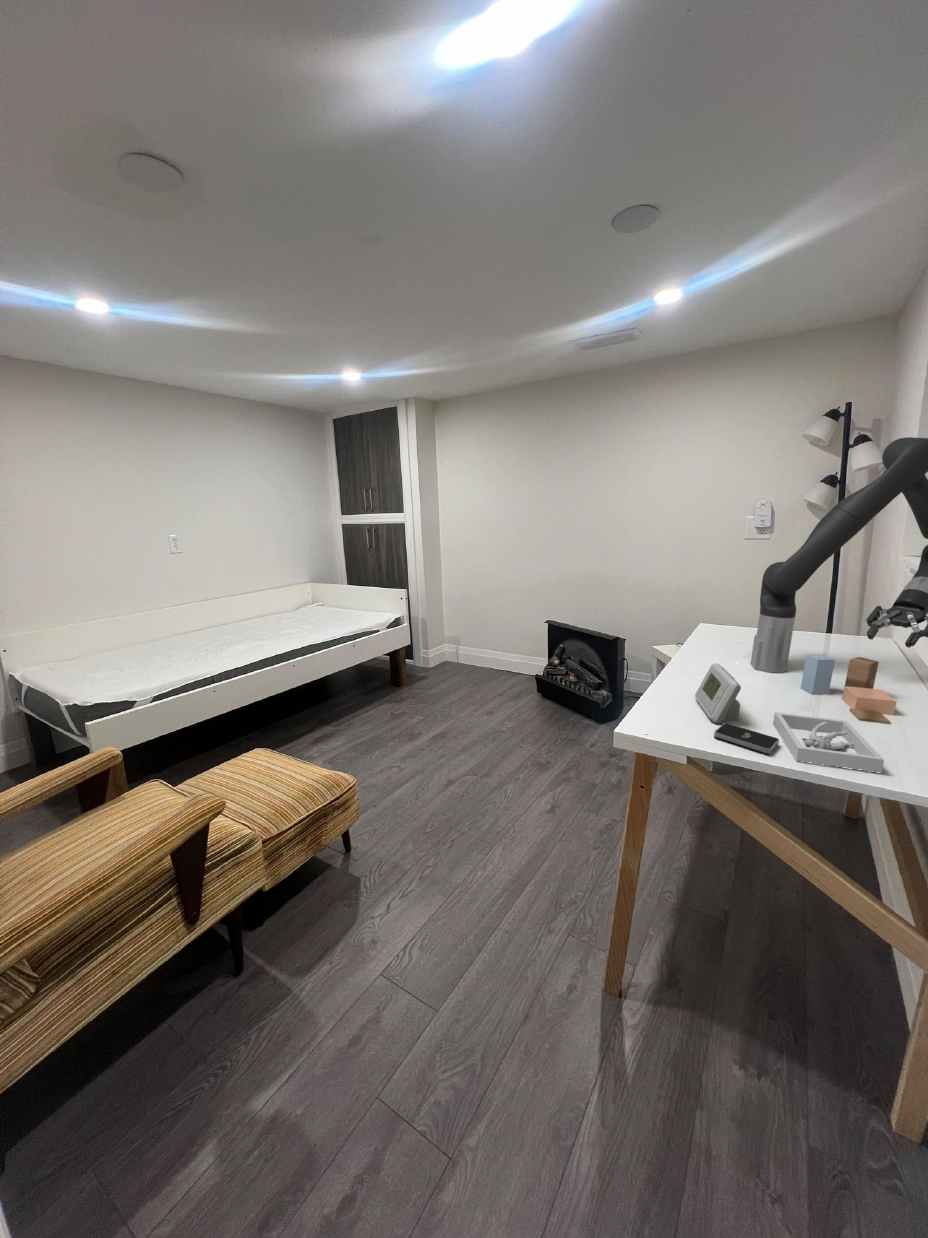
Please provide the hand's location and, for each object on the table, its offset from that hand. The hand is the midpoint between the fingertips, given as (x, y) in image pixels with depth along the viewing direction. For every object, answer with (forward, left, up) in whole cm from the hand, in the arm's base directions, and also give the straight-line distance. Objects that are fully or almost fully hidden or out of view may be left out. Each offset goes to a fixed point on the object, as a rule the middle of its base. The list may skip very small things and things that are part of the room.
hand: (888, 641), depth 132 cm
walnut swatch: (-10, -23, -14) cm, 29 cm away
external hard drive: (-41, -47, -14) cm, 64 cm away
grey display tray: (-26, -44, -14) cm, 53 cm away
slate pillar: (-17, -8, -14) cm, 24 cm away
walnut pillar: (-7, -7, -14) cm, 17 cm away
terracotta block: (-8, -16, -14) cm, 23 cm away
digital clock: (-46, -32, -14) cm, 57 cm away
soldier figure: (-26, -45, -14) cm, 54 cm away
